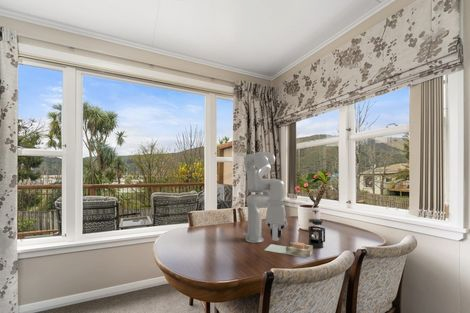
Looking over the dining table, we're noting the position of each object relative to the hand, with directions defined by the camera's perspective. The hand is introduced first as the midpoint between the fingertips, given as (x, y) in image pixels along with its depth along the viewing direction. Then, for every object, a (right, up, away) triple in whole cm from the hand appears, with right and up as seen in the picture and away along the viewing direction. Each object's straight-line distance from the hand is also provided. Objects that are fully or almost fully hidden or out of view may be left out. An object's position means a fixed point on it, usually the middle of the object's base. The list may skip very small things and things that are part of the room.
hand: (275, 236), depth 130 cm
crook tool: (+2, -2, +4) cm, 5 cm away
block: (+16, -13, +11) cm, 23 cm away
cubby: (+16, -13, +11) cm, 23 cm away
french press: (+30, -15, +23) cm, 40 cm away
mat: (+10, -14, +14) cm, 22 cm away
